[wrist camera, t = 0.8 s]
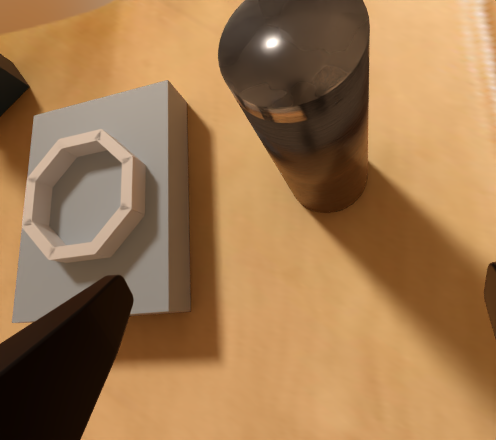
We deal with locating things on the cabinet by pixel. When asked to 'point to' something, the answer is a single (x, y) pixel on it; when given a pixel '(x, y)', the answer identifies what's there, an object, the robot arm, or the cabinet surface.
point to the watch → (10, 84)
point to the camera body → (107, 203)
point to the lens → (305, 91)
